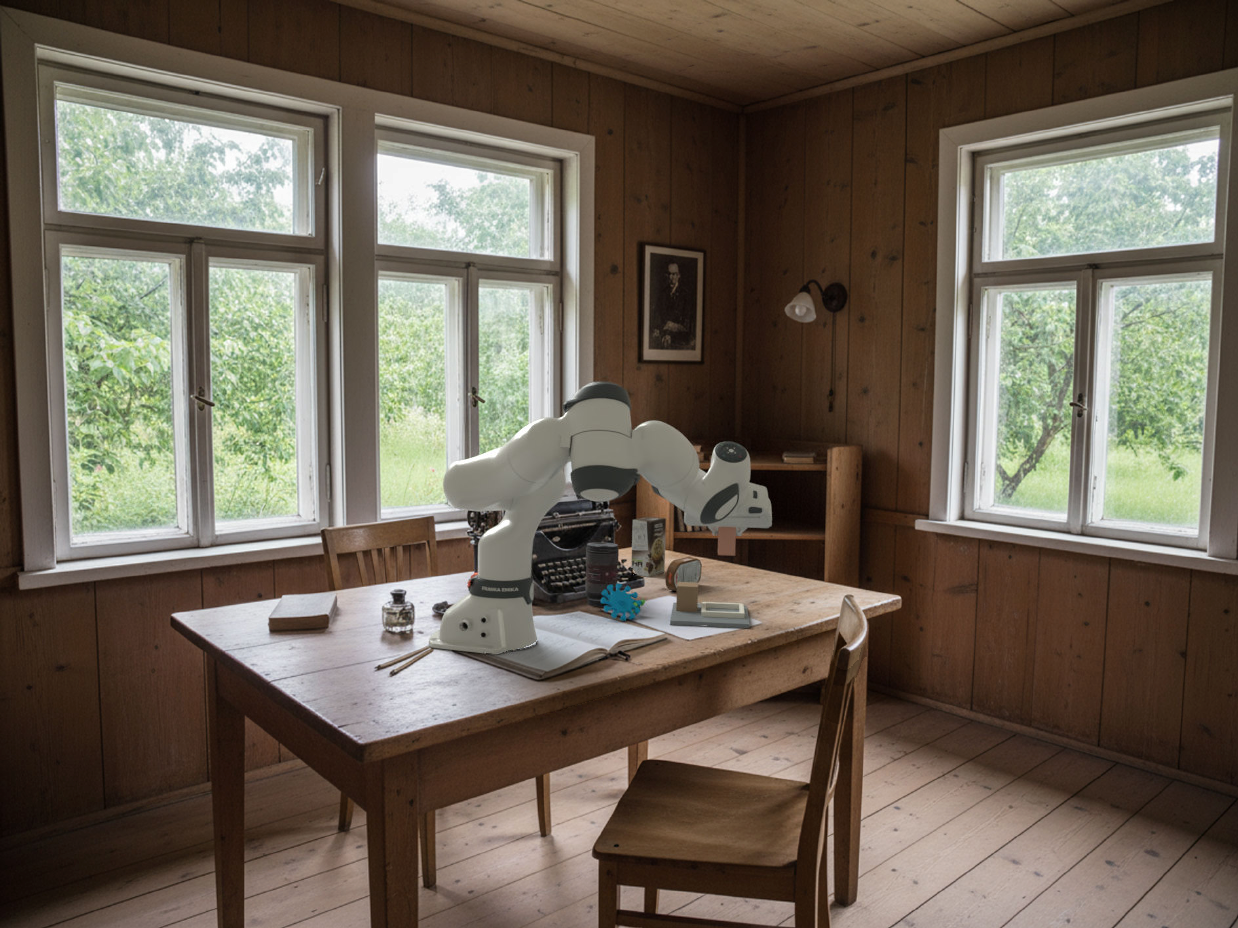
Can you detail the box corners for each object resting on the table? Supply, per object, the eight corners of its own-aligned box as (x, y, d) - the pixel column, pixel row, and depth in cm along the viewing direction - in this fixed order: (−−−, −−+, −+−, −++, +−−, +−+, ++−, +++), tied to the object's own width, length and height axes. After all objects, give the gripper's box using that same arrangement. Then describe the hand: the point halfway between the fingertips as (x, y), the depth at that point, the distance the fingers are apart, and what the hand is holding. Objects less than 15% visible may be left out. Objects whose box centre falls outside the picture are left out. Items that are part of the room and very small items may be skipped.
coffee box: (649, 577, 266) (650, 521, 265) (630, 574, 270) (631, 519, 269) (665, 572, 274) (666, 517, 273) (646, 569, 278) (648, 515, 276)
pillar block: (717, 555, 219) (718, 521, 218) (717, 552, 223) (718, 518, 222) (735, 555, 218) (736, 521, 218) (734, 552, 222) (735, 519, 222)
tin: (693, 583, 259) (694, 553, 258) (703, 585, 257) (704, 555, 257) (663, 592, 247) (664, 561, 246) (673, 594, 245) (674, 563, 244)
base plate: (670, 624, 214) (670, 594, 213) (673, 606, 231) (674, 578, 231) (749, 628, 212) (750, 598, 211) (746, 609, 230) (747, 581, 229)
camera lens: (621, 606, 231) (623, 546, 229) (590, 608, 228) (591, 547, 227) (611, 598, 238) (612, 540, 237) (581, 600, 236) (582, 541, 234)
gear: (604, 616, 214) (600, 579, 220) (596, 629, 218) (592, 593, 224) (649, 620, 217) (643, 583, 224) (640, 633, 221) (635, 597, 228)
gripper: (681, 506, 209) (682, 542, 219) (774, 509, 207) (770, 545, 217) (683, 484, 213) (683, 521, 223) (773, 487, 211) (769, 523, 221)
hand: (726, 533), depth 220 cm, fingers closed on pillar block, 4 cm apart
